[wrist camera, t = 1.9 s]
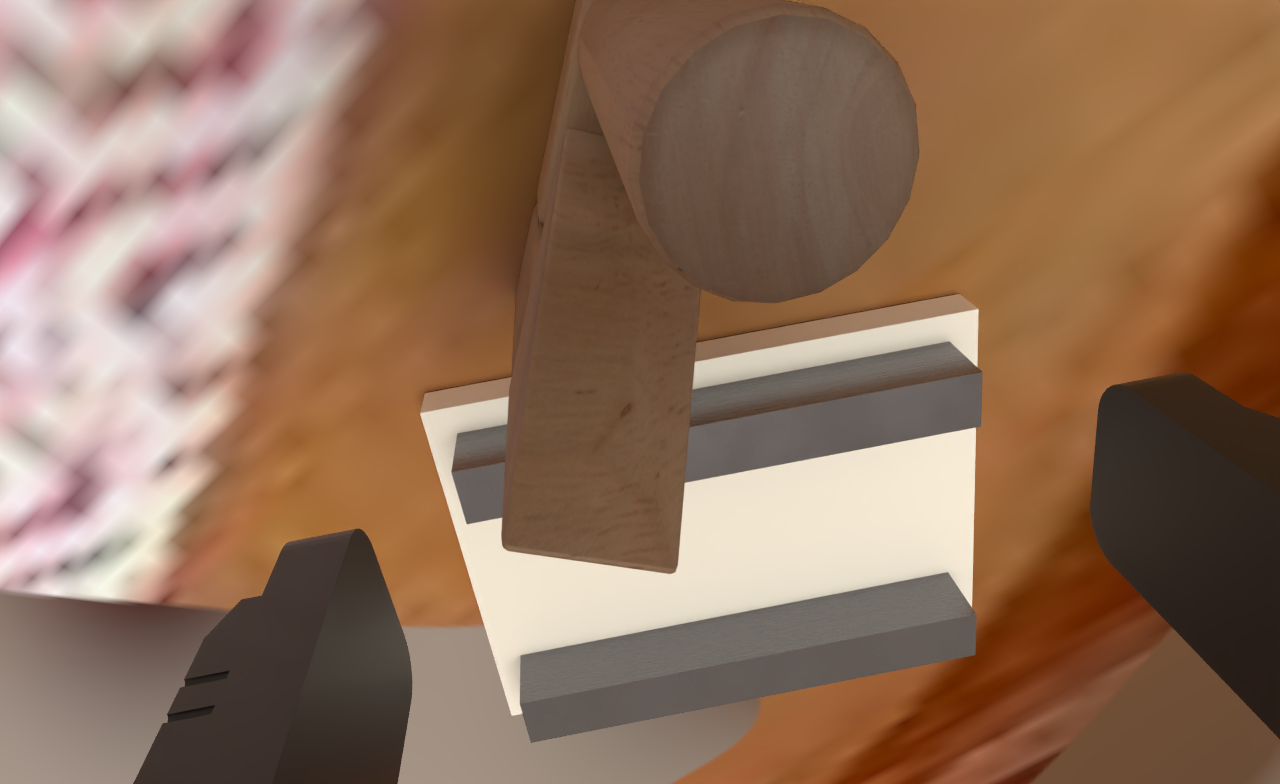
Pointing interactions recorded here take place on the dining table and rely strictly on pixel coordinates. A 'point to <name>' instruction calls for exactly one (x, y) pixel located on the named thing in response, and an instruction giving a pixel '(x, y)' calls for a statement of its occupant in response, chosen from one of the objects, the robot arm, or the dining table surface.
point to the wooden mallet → (680, 241)
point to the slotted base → (750, 528)
